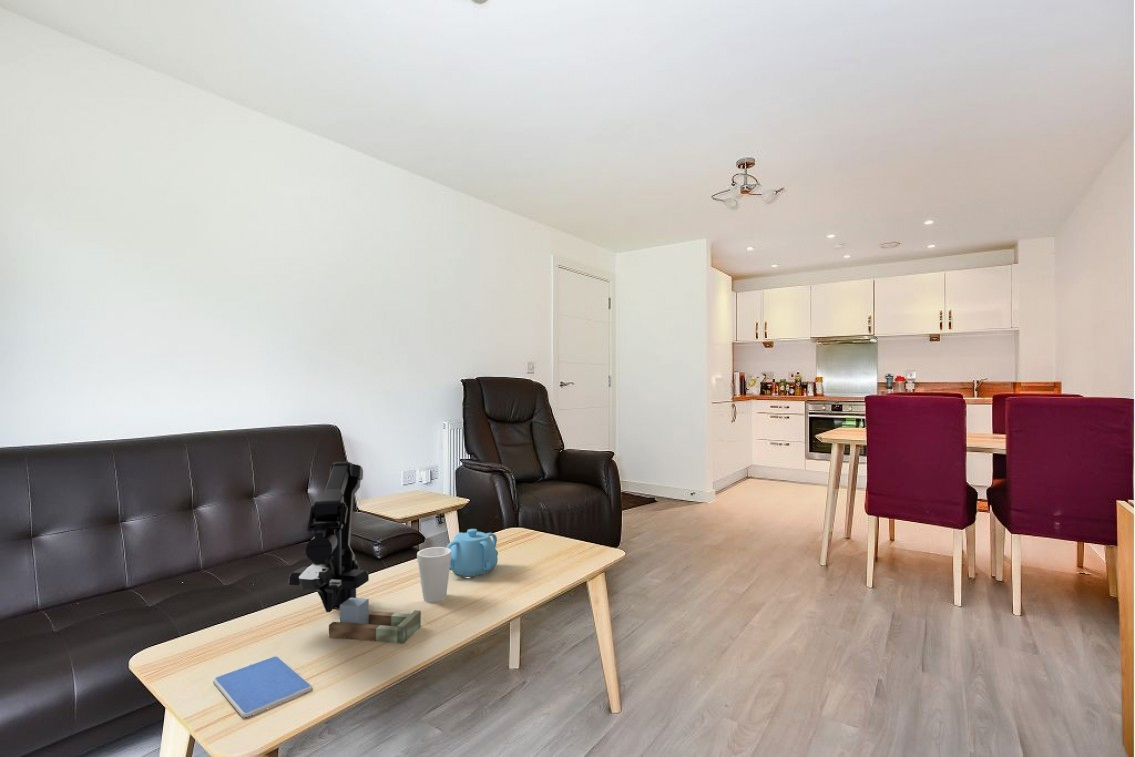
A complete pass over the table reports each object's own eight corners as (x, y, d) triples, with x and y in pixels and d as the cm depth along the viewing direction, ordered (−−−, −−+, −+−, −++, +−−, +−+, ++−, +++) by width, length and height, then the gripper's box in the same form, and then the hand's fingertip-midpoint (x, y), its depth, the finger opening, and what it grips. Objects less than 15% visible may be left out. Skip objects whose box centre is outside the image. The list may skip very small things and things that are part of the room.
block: (339, 633, 128) (339, 604, 128) (350, 625, 132) (350, 597, 132) (358, 635, 127) (358, 606, 127) (368, 626, 131) (368, 598, 132)
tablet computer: (211, 683, 108) (211, 677, 108) (277, 659, 117) (277, 653, 117) (243, 722, 95) (243, 715, 95) (314, 692, 104) (314, 685, 104)
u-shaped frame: (328, 637, 126) (328, 620, 126) (350, 621, 135) (350, 605, 135) (403, 643, 123) (403, 626, 123) (420, 626, 131) (420, 610, 131)
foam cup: (415, 594, 152) (415, 549, 152) (447, 589, 155) (447, 545, 156) (420, 607, 143) (419, 559, 143) (454, 601, 147) (453, 554, 147)
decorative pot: (438, 579, 164) (438, 536, 164) (457, 562, 180) (457, 522, 180) (488, 582, 161) (488, 537, 161) (503, 564, 177) (503, 524, 177)
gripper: (272, 557, 125) (272, 623, 125) (343, 561, 122) (343, 629, 121) (304, 543, 136) (304, 604, 136) (369, 547, 133) (370, 609, 132)
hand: (329, 611), depth 131 cm, fingers closed
